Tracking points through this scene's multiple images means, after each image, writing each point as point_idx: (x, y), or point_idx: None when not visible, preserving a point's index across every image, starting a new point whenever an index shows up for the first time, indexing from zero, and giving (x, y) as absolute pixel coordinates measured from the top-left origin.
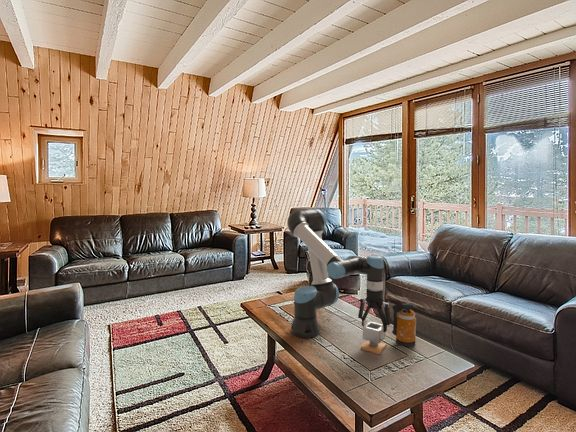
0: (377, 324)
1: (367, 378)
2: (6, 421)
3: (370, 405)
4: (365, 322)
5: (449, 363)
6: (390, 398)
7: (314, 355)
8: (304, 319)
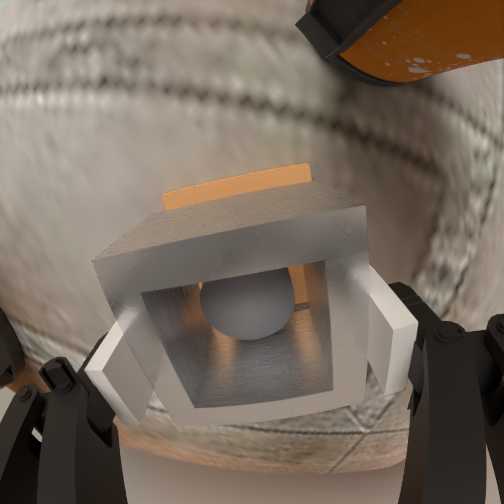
0: (246, 273)
1: (355, 430)
2: None
3: (392, 460)
4: (140, 401)
5: None
6: None
7: (136, 436)
8: None
